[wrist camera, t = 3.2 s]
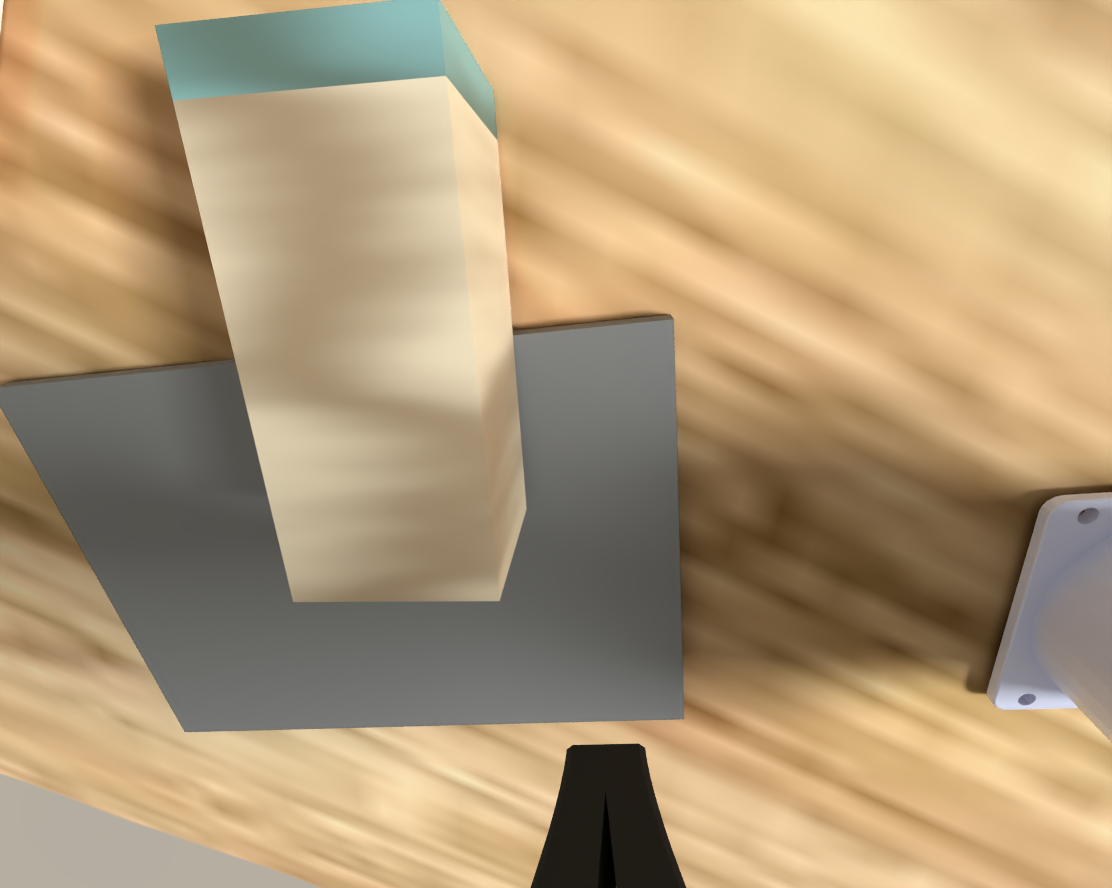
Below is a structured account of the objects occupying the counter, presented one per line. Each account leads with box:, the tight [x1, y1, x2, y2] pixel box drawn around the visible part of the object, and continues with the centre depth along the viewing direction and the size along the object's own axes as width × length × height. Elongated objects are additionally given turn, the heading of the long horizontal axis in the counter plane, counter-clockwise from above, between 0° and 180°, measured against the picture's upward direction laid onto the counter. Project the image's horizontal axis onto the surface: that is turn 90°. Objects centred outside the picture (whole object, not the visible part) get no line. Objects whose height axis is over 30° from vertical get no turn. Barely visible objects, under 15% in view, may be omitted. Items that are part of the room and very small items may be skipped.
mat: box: [0, 315, 684, 732], centre depth 17 cm, size 19×14×1 cm
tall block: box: [155, 0, 527, 602], centre depth 12 cm, size 4×4×10 cm
